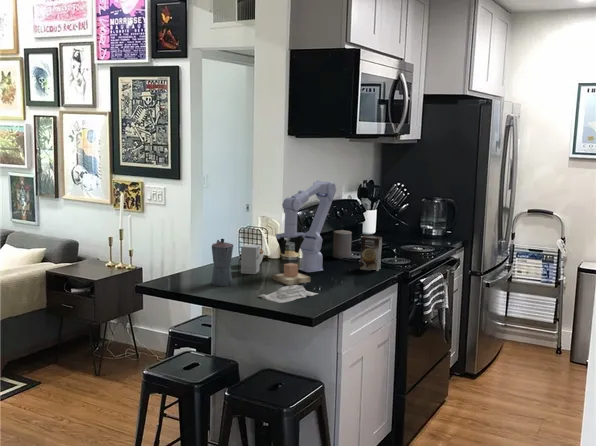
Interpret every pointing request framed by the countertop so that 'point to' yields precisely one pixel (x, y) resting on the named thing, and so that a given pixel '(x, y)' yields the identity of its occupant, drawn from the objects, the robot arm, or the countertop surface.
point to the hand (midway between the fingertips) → (289, 253)
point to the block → (290, 270)
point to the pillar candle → (342, 244)
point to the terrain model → (288, 294)
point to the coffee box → (370, 253)
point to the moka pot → (222, 263)
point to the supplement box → (250, 259)
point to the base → (291, 279)
